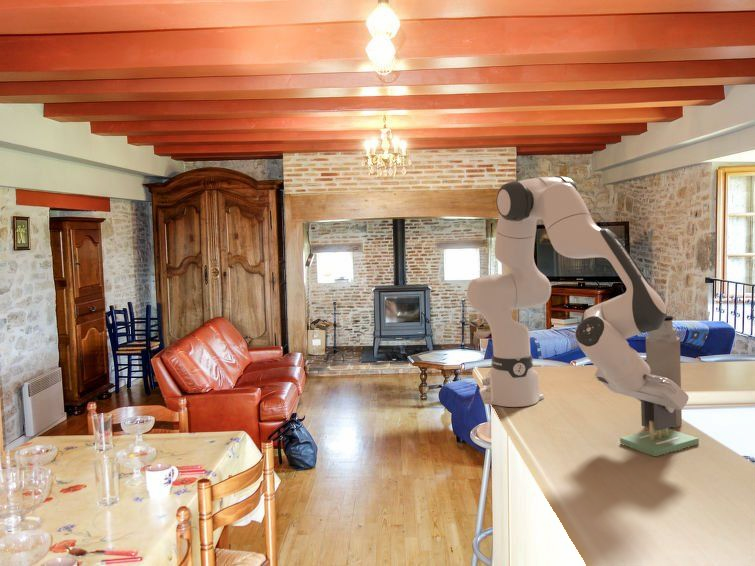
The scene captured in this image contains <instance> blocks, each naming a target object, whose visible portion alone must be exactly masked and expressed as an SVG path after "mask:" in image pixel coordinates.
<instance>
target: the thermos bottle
mask: <svg viewBox="0 0 755 566" xmlns="http://www.w3.org/2000/svg"><path fill="white" fill-rule="evenodd" d="M673 319H674V317H673V316H671V315H666V318H665V320H664V322H663V324H662V325H661V327H660V328H659V329H657V330H653V331H649V332H647V334H648V336H646V337H645V361H646V363H647V364H648V365H649V367H650V374H651V375H656V376H660V377H665V378H668V379H670V380H672V381H673V382H674V383H676V384H677V385H678V386H679V387H680V388H681V389H682V378H681V377H682V374H681V373H682V371H681V370H682V368H681V338H680V337H678V335H677V334H678V331H677V328H675V327H673V326H674V324H673V323H674V322H673ZM682 417H683V416H682V410H677V409H676V426H674V428H679V427H681V426H682V424H683V421H682V420H683V418H682Z"/></svg>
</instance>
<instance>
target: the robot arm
mask: <svg viewBox="0 0 755 566" xmlns="http://www.w3.org/2000/svg"><path fill="white" fill-rule="evenodd" d="M577 187H578V186H577V185H576V183H575V181H574V180H572V179H571V178H570V177H568V176H567V177H566V176H560V175H556V176H537V177H533V178H527V179H522V180H513V181H509V182H506V183H504V184H503V185H501V186H500V188H499V189H498V192H497V195H496V200H495V201H496V208H497V212H498V218H497V223H496V230H495V231H496V232H495V243H494V255H495V258H496V259H497V260H498V262H499V263H501V264H503V265H504V266H507V267H509V268H510V270H509V272H507V273H502V274H489V275H488V274H486V275H483V276H480V277H477V278H474V279H472V280H471V281H470V283H469V285H468V287H467V288H466V289H467V290H466V297H467V302H468V303H469V305H470V307H471V308H472V309H473V310H475V311H476V312H478V313H479V314H480V315H481V316H482V317H483V318H484V319H485V321H486V322H487V324H488V327H489V329H490V332H491V333H490V334H491V341H492V342H491V343H492V353H493V354H492V356H491V364H490V365H491V368H490V369H489V371H488V372H487V373H486V375H485V377H484V378H481V379H482V382H481V383H482V386H485V387H481V388H479V390H478V391H479V394H480V397H481V401H482V402H483V404H484V405H492V406H493V405H495V406H499V407H507V408H518V407H519V408H520V407H528V406H533V405H535V404H537V403H539V401H541V400H543V399H544V398H545V395H544V394H543V393H540V386H539V379H538V378H539V376H538V372H537V371H536V370H534V369H533V367H534V365H533V364H534V363H533V362H534V359H533V355H532V354H531V337H530V336H531V334H530V331H529V328H528V327H527V326H526V325H525V324H523V323H521V322H520V321H517V320H515V319H513V317H512V311H514V310H522V309H523V310H525V309H533V308H536V307H540V306H543V305H545V304H546V303H548V301H549V299H550V297H551V295H552V285H551V282H550V280H549V278H547V276H546V275H545V274H543V272H541V271H540V270H539V269H538V267H537V265H536V262H535V258H534V257H535V255H534V254H535V244H536V243H535V242H536V233H537V222H538V220H542V223H543V225H544V227H545V231H546V234H547V237H548V239H549V241H550V244H551V245H552V248H553V249H554V250H555V252H556V253H558V254H559V255H561V256H563V257H565V258H569V259H574V260H575V259H577V260H578V259H580V260H581V259H583V260H584V259H593V258H604V259H606V260H608V262H609V263H610V264H611V266H612V267H613V269H614V270H615V272H616V274H617V275H618V277H619V278H620V280H621V281H622V283H623V284H624V285H625V288H626V291H625V292H624V293H622V294H619V295H617V296H615V297H612V298H610V299H608V300H606V301H605V300H604V301H602V302H599V303H597V304H595V305H593V306H591V307H589V308H587V309H585V310H584V312H583V314H582V316H581V319H580V322H579V324H578V325H577V327H576V330H575V340H576V343H577V344H578V346H579V348H580V350H581V351H582V352H583V353H584V355H585V357H586V358H587V359H588V360H589V361H590V362H591V363H592V364H593V366H594V367H596V368H597V369H596V371H595V373H594V375H593V376H594V377H593V378H594V379H596V380H597V381H599V382H601V383H602V384H603V385H604V386H605V387H606V388H607V389H608V390H610V391H611V392H613V393H615V394H619V395H623V396H627V397H630V398H633V399H636V401H639V402H640V403H641V400H644V401H648V402H652V403H655V404H659V405H663V406H664V407H663V409H664V410H665V411H667V412H670V413H673V411H674V410H675V409H677V410H681V411H682V410H683V409H684V408H685V406H686V405H687V403H688V401H689V399H690V398H689V395H688V394H687V393H686V392H685V391H684V390H683V389H682V387H681V388H680V387H679V386H678V385H677V384H676V383H674V382H673V381H672V380H670V379H668V378H665V377H660V376H656V375H651V374H650V367H649V365H648V364H647V363H646V359H644V358H643V357H642V356H641V355H640V354H639V352H638V351H636V350H635V349H634V348H633V347H631V346H630V345H629V344H630V343H629V342H628V341H627V339H630V338H633V337H635V336H638V335H640V334H645V333H648V332H649V331H653V330H657V329H659V328H660V327H661V325H662V324H663V322H664V320H665V318H666V315H667V314H668V310H667V308H666V304H665V302H664V301H663V299H662V297H661V296H660V295H659V294H658V292H656V290H655V289H654V288H653V286H652V285H651V283H650V282H649V281H648V280H647V279H646V277H645V275H644V274H643V273H642V271H641V269H640V268H639V266H638V265H637V263H636V262H635V259H634V258H633V257H632V255H631V254H630V253H629V251H628V250H627V249H626V247H625V245H624V244H623V243H622V241H621V240H620V239H619V238H618V237H617V235H616V234H615V233H614V232H613V231H611V230H610V229H608V228H601V227H600V226H598V225H597V223H595V221H594V220H593V218H592V215H591V213H590V211H589V209H588V207H587V205H586V203H585V201H584V199H583V198H582V196H581V194H580V193H579V190H578V188H577ZM667 316H668V315H667Z"/></svg>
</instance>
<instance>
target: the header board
mask: <svg viewBox="0 0 755 566" xmlns="http://www.w3.org/2000/svg"><path fill="white" fill-rule="evenodd" d="M619 439H620V443H622V444H624V445H627V446H630V447H632V448H631V449H633V448H635V449H637V450H636V451H638V450H640V451H639V452H641V451H643V452H645V453H644V454H646V453H648V454H647V455H649V454H650V455H649V456H651V455H652V456H651V457H654V456H657V457H660V456H659V455H661V456H663V455H662V454H664V455H667V454H666V453H668V454H670V453H669V452H671V453H674V452H673V451H675V452H677V451H676V450H678V451H680V450H679V449H681V450H683V449H682V448H685V449H687V448H686V447H688V448H691V447H690V446H692V447H694V446H693V445H695V446H698V444H700V443H699V442H700V440H699V437H696V436H694V435H690V434H687V433H684V432H680V431H677V430H674V429H672V428H666V429H662V430H658V431H657V430H654V421H652V420H650V421H649V430H645V431H641V432H638V433H634V434H629V435H626V436H621V437H619ZM622 444H621V445H622ZM624 445H623V446H624ZM627 446H626V447H627ZM630 447H629V448H630ZM635 449H634V450H635ZM643 452H642V453H643Z"/></svg>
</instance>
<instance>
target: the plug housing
mask: <svg viewBox="0 0 755 566" xmlns="http://www.w3.org/2000/svg"><path fill="white" fill-rule="evenodd" d="M640 407H641V408H640V410H641V415H640V416H641V427H648V426H649V421H650V420H652V421H654V430H657V431H658V430H662V429H666V428H668V429H671V428H670V427H674V426H676V409H675V410H674V411H673V413H670V412H667V411H665V410H664V409H663V407H664V406H663V405H659V404H655V403H652V402H648V401H644V400H641V402H640ZM649 427H650V426H649ZM674 428H675V427H674Z"/></svg>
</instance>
